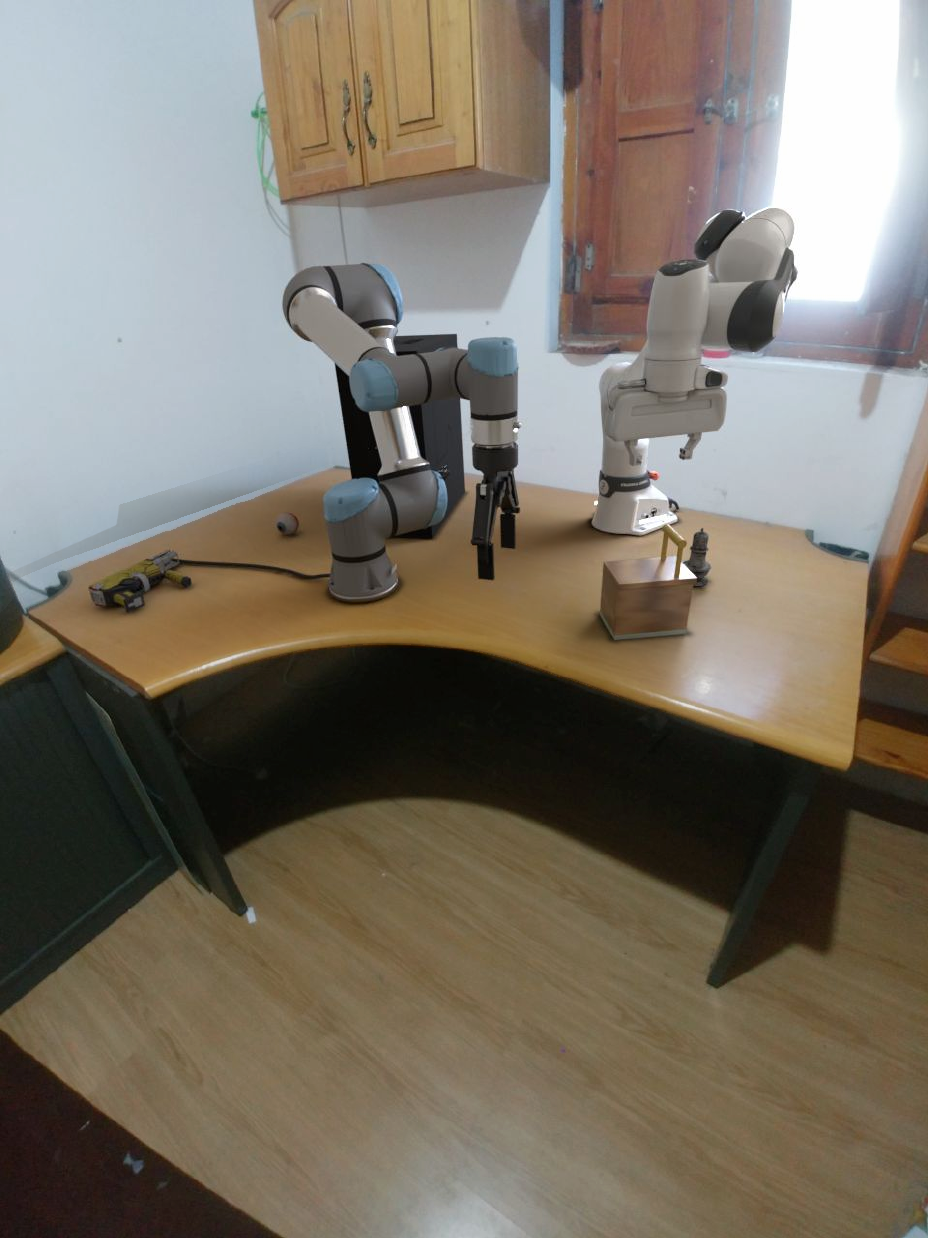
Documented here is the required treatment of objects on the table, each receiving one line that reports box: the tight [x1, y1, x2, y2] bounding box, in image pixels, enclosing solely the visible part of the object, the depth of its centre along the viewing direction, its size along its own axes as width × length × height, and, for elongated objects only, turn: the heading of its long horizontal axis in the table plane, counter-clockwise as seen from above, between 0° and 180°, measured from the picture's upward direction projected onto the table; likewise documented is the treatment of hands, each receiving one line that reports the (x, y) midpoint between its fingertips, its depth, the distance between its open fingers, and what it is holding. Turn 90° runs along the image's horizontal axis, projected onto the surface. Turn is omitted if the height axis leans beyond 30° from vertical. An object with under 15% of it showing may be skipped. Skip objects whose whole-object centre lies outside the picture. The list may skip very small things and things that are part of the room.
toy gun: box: [87, 549, 193, 614], centre depth 138 cm, size 5×24×15 cm
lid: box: [602, 524, 697, 590], centre depth 108 cm, size 14×10×8 cm
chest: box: [599, 566, 694, 641], centre depth 113 cm, size 14×10×10 cm
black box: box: [333, 333, 466, 539], centre depth 164 cm, size 38×20×45 cm, turn 167°
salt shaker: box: [682, 527, 712, 587], centre depth 126 cm, size 6×6×12 cm
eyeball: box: [275, 511, 300, 536], centre depth 163 cm, size 6×6×6 cm
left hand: (497, 562), depth 108 cm, fingers open, 13 cm apart
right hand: (660, 461), depth 104 cm, fingers open, 8 cm apart
